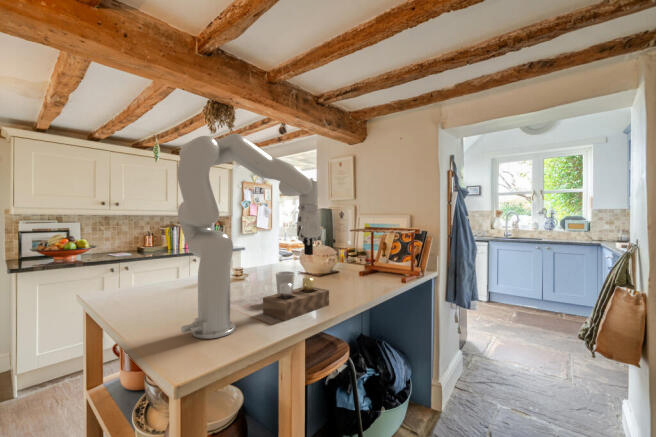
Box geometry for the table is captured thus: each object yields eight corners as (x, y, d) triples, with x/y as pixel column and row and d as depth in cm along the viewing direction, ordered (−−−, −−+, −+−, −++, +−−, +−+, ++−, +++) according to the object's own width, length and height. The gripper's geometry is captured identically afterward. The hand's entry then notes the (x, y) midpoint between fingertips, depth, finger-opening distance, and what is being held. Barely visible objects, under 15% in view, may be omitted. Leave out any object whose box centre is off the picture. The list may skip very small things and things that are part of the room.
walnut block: (284, 321, 100) (284, 303, 100) (262, 313, 108) (262, 297, 108) (329, 305, 119) (329, 290, 119) (307, 299, 127) (307, 285, 127)
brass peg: (308, 294, 115) (308, 280, 115) (300, 292, 118) (300, 278, 118) (315, 292, 118) (315, 278, 118) (307, 290, 121) (307, 276, 121)
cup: (293, 304, 120) (293, 275, 120) (273, 304, 120) (273, 275, 120) (295, 298, 128) (295, 271, 128) (277, 298, 128) (277, 271, 128)
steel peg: (285, 301, 106) (285, 285, 106) (277, 299, 109) (277, 283, 109) (294, 298, 109) (294, 283, 109) (286, 296, 112) (286, 281, 112)
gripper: (302, 208, 110) (302, 257, 110) (327, 209, 121) (327, 253, 122) (288, 209, 115) (288, 255, 115) (314, 209, 126) (314, 252, 126)
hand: (308, 254), depth 118 cm, fingers closed
